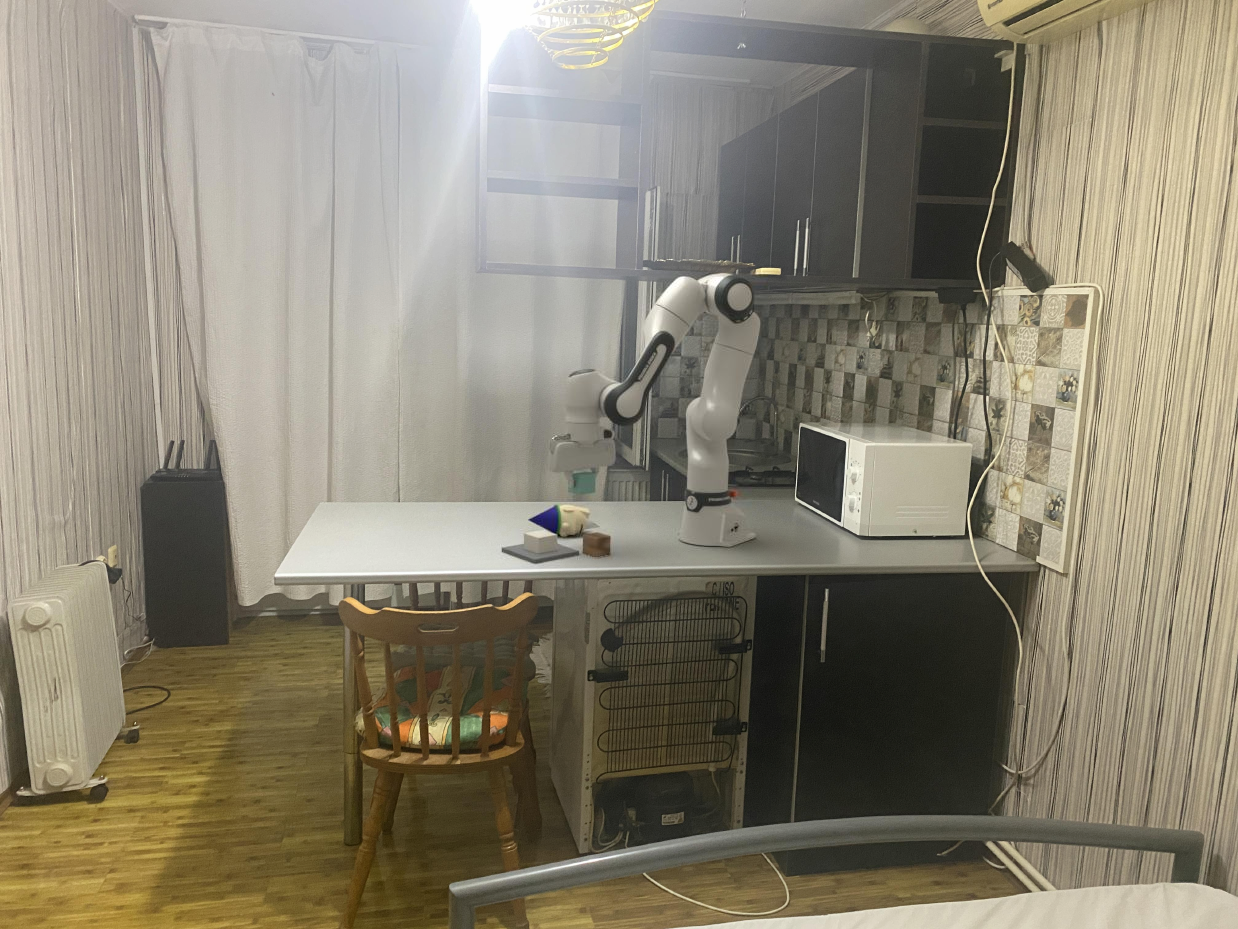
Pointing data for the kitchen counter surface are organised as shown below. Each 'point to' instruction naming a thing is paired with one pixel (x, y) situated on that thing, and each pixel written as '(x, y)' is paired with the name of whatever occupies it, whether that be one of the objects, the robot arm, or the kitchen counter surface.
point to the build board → (540, 556)
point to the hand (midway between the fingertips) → (581, 485)
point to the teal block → (583, 483)
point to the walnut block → (596, 544)
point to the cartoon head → (564, 520)
